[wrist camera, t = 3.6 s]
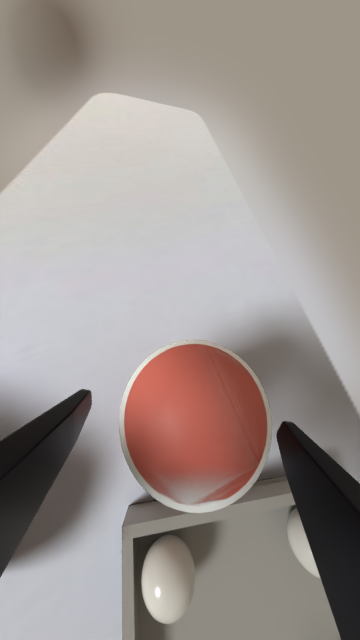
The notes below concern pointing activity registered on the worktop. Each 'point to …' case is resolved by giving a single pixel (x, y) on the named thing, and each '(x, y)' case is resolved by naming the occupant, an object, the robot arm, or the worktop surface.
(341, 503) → the robot arm
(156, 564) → the pebble
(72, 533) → the worktop surface
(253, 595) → the tray
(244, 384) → the scoop cup
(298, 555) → the white glossy ball
